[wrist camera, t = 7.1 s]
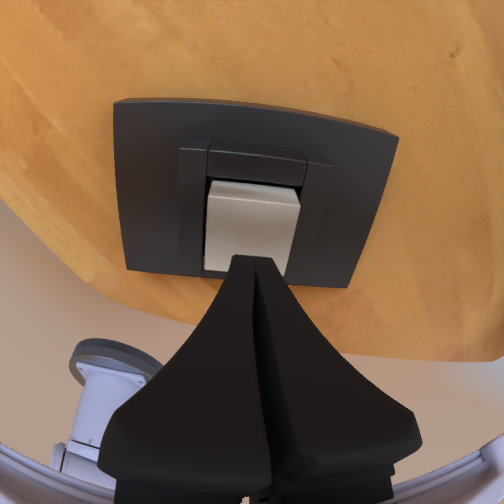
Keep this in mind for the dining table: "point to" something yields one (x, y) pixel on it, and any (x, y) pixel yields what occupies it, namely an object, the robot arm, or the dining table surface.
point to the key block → (245, 181)
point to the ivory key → (249, 223)
